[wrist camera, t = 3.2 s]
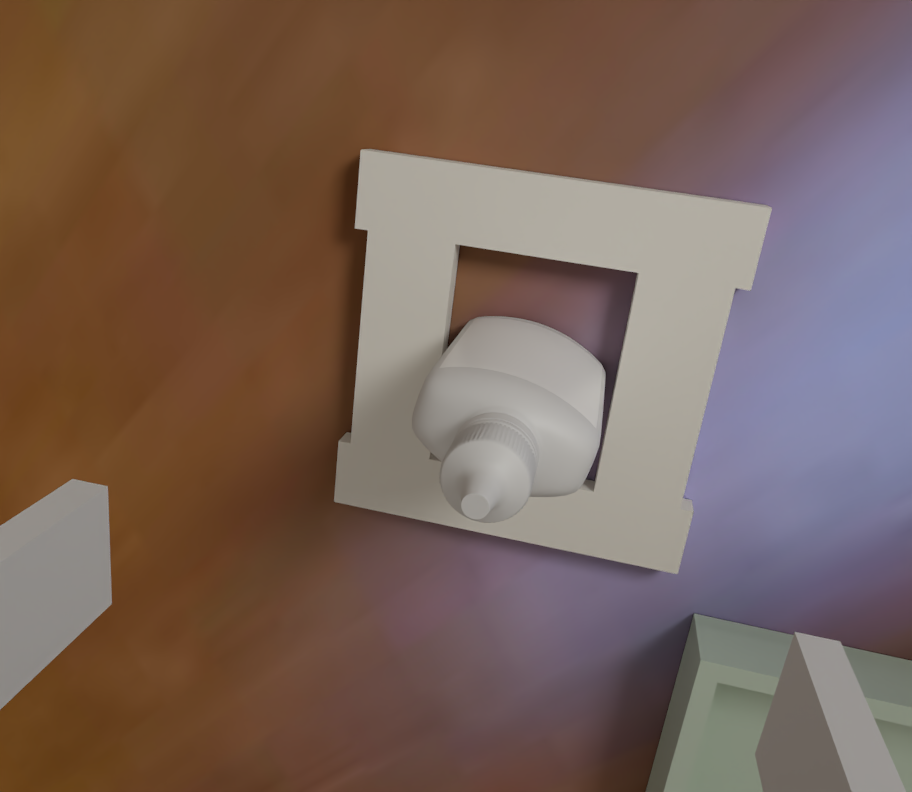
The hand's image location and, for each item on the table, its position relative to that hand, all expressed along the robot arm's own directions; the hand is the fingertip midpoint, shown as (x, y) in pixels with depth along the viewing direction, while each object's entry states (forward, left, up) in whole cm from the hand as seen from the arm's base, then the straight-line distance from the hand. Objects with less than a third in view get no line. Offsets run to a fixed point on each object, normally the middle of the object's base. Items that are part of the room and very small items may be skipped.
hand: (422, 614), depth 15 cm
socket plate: (0, 0, -16) cm, 16 cm away
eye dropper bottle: (0, 0, -17) cm, 17 cm away
